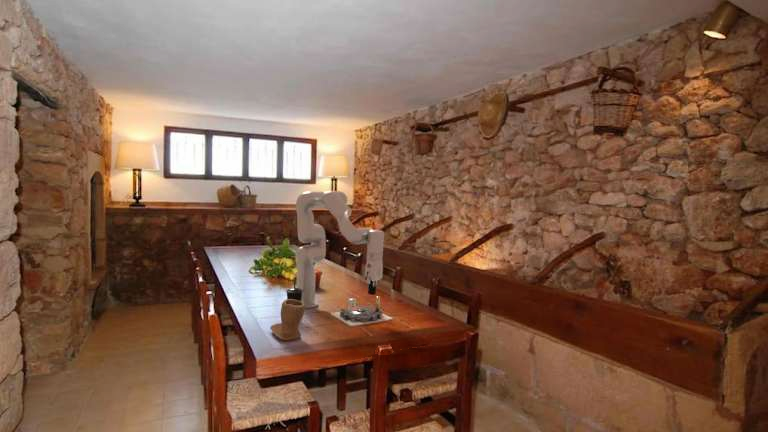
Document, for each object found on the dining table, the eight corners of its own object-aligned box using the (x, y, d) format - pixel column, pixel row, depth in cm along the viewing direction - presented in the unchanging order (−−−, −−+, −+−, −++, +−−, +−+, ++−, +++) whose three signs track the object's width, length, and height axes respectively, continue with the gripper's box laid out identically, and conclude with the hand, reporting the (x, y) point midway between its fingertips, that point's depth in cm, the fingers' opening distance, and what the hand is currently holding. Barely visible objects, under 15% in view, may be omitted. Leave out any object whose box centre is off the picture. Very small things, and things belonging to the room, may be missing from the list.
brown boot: (308, 339, 172) (309, 303, 171) (279, 343, 166) (280, 306, 166) (296, 328, 185) (297, 294, 185) (269, 332, 180) (270, 297, 179)
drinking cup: (287, 322, 193) (288, 279, 192) (283, 317, 200) (284, 275, 199) (304, 320, 196) (305, 278, 195) (299, 316, 203) (300, 274, 202)
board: (350, 326, 190) (350, 325, 190) (330, 314, 208) (330, 313, 208) (392, 319, 203) (393, 318, 203) (370, 308, 220) (370, 307, 220)
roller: (350, 310, 217) (350, 300, 216) (346, 308, 220) (346, 298, 220) (357, 309, 219) (357, 299, 219) (353, 307, 222) (353, 297, 222)
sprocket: (386, 321, 197) (386, 302, 197) (342, 322, 193) (342, 302, 193) (378, 308, 217) (379, 291, 217) (338, 309, 213) (338, 292, 213)
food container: (294, 285, 267) (294, 268, 266) (319, 284, 272) (320, 268, 271) (296, 291, 252) (297, 273, 251) (323, 290, 257) (324, 273, 256)
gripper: (374, 259, 191) (371, 299, 193) (388, 255, 204) (385, 292, 206) (359, 256, 195) (356, 296, 196) (375, 253, 208) (372, 289, 209)
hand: (371, 294), depth 201 cm, fingers closed
